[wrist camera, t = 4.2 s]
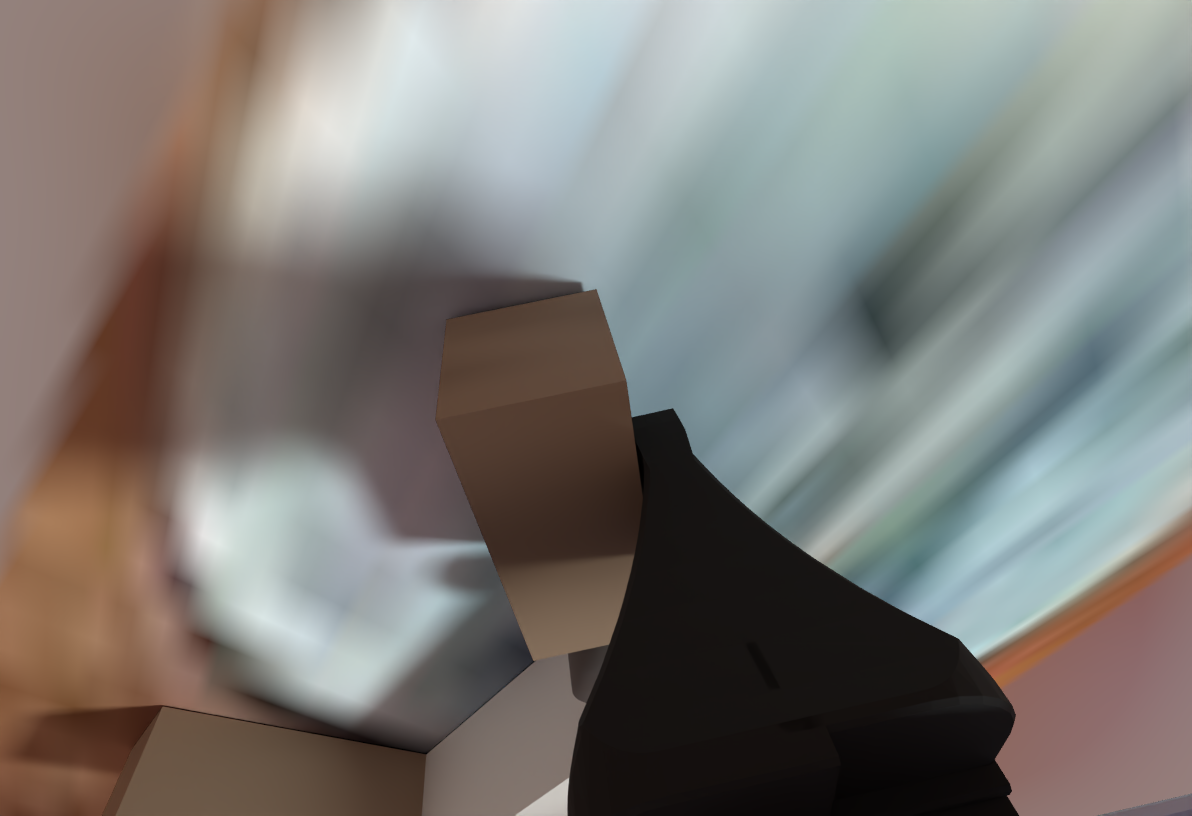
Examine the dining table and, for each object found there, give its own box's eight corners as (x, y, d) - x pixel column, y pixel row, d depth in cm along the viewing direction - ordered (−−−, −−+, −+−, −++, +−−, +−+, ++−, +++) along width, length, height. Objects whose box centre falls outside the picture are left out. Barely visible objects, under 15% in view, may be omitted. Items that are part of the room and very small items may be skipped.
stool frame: (414, 809, 25) (403, 930, 22) (117, 769, 20) (48, 921, 17) (702, 578, 18) (746, 707, 15) (363, 427, 13) (324, 576, 10)
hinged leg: (644, 586, 18) (669, 690, 15) (545, 607, 18) (555, 715, 15) (596, 289, 12) (626, 380, 9) (446, 319, 12) (435, 419, 9)
